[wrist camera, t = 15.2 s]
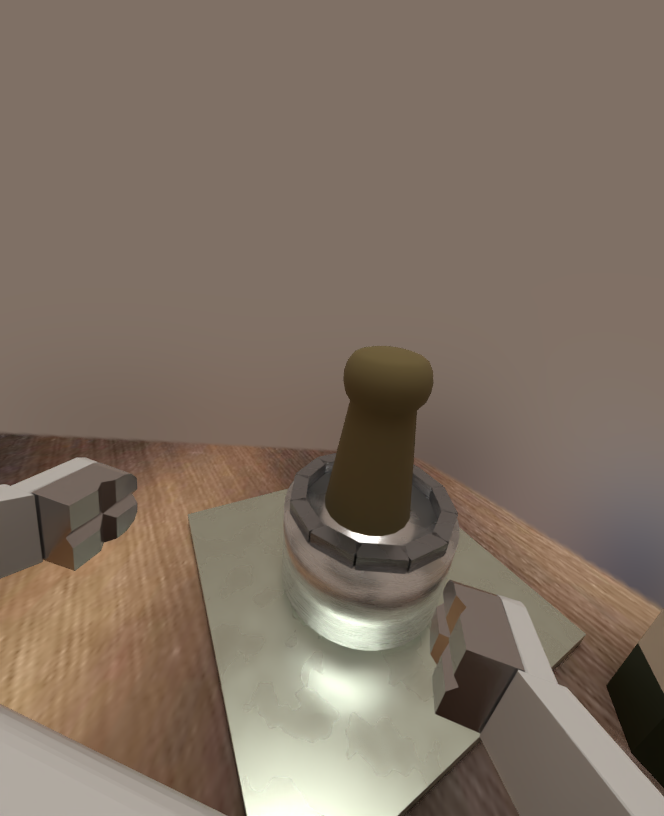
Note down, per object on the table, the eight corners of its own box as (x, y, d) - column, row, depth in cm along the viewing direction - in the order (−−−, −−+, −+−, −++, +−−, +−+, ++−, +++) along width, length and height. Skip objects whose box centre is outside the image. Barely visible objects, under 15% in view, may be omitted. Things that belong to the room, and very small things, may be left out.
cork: (329, 473, 25) (343, 335, 21) (405, 483, 25) (435, 344, 21) (318, 528, 20) (334, 355, 15) (416, 542, 19) (460, 369, 15)
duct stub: (188, 523, 28) (180, 445, 25) (382, 471, 39) (393, 411, 36) (270, 944, 11) (275, 861, 8) (580, 643, 22) (633, 557, 18)
